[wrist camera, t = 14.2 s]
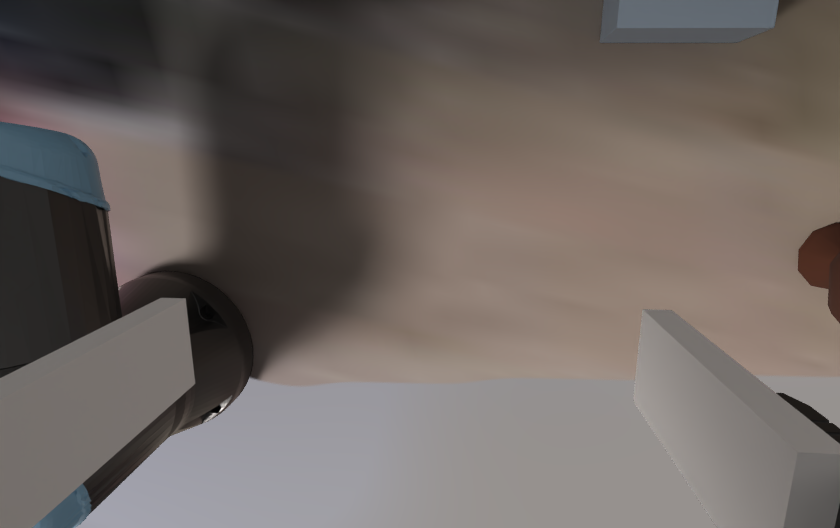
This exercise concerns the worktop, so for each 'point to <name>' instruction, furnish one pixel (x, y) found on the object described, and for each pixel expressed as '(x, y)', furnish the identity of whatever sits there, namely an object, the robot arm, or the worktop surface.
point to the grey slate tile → (685, 20)
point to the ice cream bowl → (823, 263)
